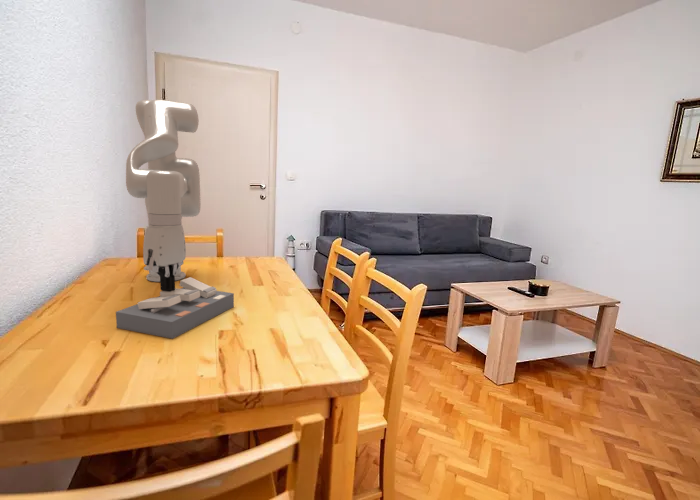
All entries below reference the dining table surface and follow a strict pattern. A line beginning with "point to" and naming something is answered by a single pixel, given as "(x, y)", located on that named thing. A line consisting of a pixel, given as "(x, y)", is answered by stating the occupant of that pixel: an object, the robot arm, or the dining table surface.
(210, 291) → the rocker
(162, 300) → the rocker
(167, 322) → the switch unit
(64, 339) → the dining table surface
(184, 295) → the rocker
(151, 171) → the robot arm
